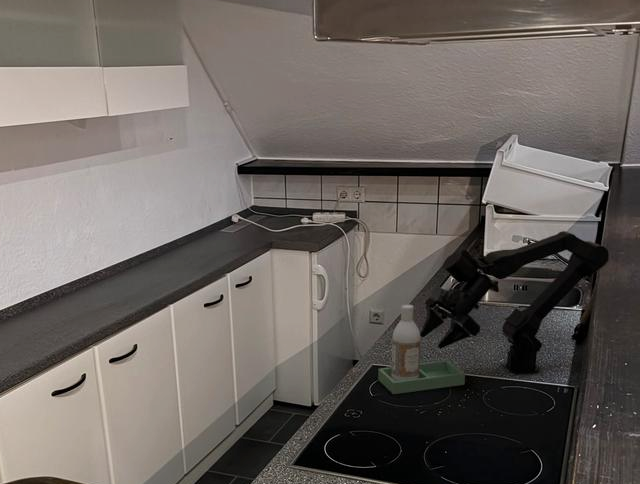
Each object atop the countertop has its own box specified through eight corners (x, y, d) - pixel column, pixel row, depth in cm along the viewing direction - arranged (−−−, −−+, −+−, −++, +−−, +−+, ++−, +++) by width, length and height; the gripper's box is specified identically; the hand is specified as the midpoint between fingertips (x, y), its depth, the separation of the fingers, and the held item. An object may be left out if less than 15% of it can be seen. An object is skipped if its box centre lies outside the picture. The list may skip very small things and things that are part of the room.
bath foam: (399, 388, 190) (402, 311, 183) (386, 378, 196) (388, 304, 189) (423, 384, 192) (427, 308, 185) (410, 374, 198) (412, 300, 191)
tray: (446, 370, 202) (447, 359, 201) (464, 384, 193) (465, 373, 192) (378, 379, 198) (378, 368, 197) (393, 394, 189) (393, 382, 188)
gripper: (432, 266, 196) (393, 313, 197) (472, 283, 180) (428, 334, 180) (458, 292, 201) (419, 337, 202) (498, 311, 185) (456, 360, 186)
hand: (429, 341), depth 192 cm, fingers open, 9 cm apart
